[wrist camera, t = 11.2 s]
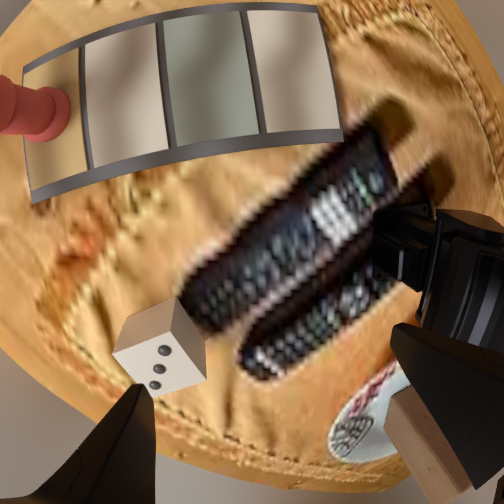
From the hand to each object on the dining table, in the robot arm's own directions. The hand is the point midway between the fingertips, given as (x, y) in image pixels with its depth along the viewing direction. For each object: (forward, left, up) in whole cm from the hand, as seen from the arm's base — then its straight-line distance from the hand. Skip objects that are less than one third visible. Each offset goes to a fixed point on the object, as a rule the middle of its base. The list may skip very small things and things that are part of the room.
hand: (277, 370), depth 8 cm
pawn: (+12, -13, -12) cm, 21 cm away
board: (+3, -13, -13) cm, 19 cm away
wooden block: (-23, +30, -13) cm, 40 cm away
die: (+7, +6, -13) cm, 16 cm away
